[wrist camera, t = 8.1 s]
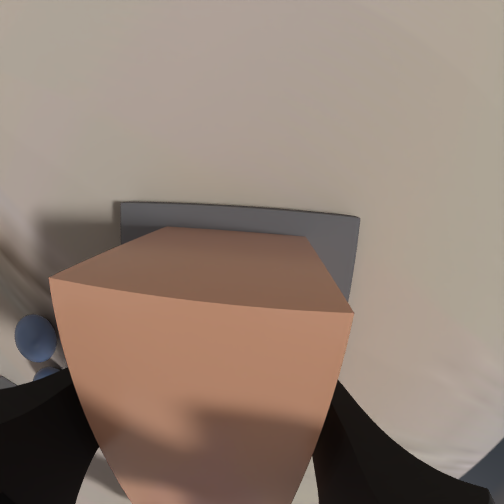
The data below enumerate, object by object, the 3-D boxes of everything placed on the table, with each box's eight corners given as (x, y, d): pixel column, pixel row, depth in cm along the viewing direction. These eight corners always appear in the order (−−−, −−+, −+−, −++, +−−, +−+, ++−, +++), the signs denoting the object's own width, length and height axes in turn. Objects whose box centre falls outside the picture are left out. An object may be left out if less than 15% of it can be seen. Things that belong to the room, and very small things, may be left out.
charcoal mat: (312, 424, 14) (314, 433, 13) (148, 404, 15) (143, 412, 14) (354, 216, 11) (360, 218, 11) (129, 201, 12) (120, 202, 11)
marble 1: (69, 353, 14) (43, 377, 11) (40, 342, 15) (14, 362, 12) (60, 311, 14) (29, 332, 11) (30, 303, 14) (1, 320, 11)
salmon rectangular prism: (278, 421, 13) (276, 532, 6) (177, 408, 14) (135, 508, 7) (305, 236, 11) (353, 313, 4) (166, 226, 11) (48, 277, 4)
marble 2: (83, 398, 15) (63, 423, 12) (54, 386, 15) (34, 407, 13) (73, 365, 15) (48, 390, 12) (43, 354, 15) (19, 375, 12)
